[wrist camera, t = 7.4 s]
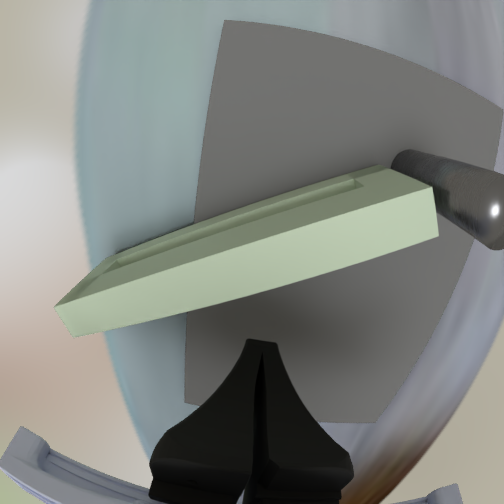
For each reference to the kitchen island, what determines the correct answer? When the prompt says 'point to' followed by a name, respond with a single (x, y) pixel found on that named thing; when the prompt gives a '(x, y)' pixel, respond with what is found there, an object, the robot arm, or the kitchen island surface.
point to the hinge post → (460, 193)
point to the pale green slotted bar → (255, 250)
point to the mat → (320, 169)
